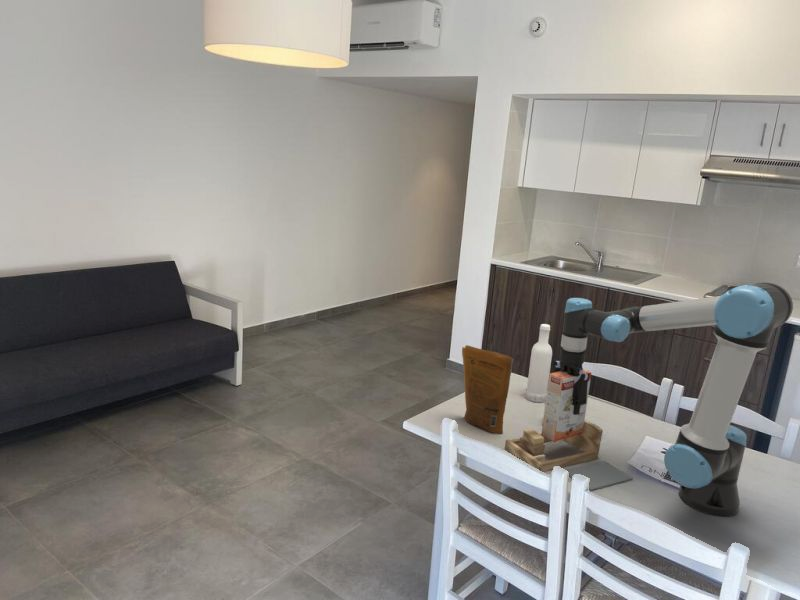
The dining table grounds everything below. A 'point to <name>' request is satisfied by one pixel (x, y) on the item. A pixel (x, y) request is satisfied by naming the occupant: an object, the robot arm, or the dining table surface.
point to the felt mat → (601, 474)
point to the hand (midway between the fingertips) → (564, 418)
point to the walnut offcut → (531, 447)
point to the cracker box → (562, 407)
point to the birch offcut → (539, 457)
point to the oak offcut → (533, 437)
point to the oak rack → (583, 441)
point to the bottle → (539, 367)
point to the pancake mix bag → (486, 387)
